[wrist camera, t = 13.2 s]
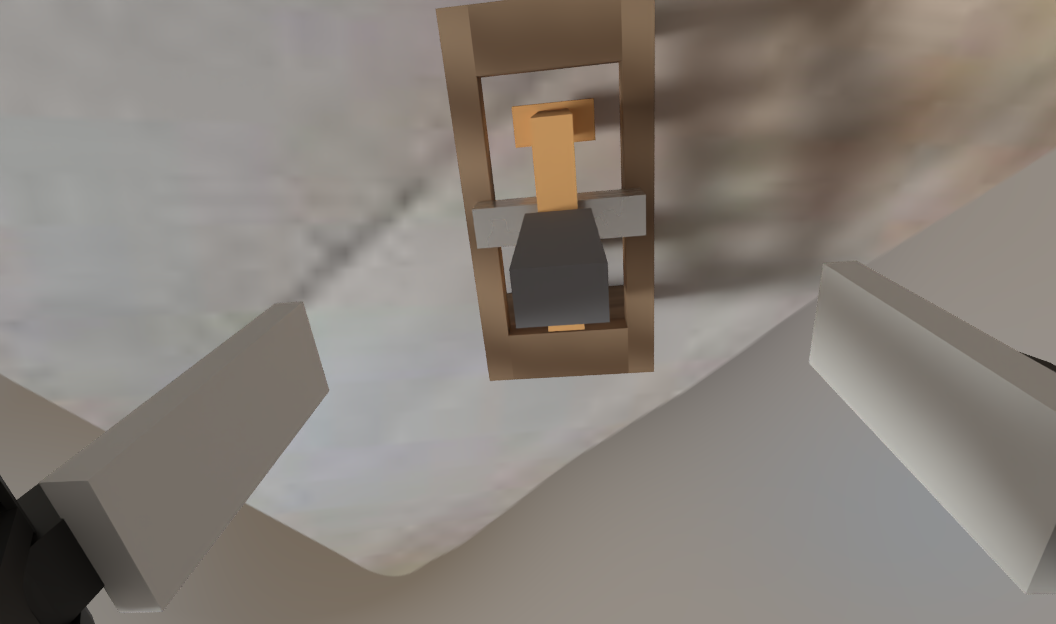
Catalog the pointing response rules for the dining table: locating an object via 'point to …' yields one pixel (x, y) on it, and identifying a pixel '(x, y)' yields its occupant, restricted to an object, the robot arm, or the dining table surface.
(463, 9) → the brown frame with crossbar
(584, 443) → the dining table surface
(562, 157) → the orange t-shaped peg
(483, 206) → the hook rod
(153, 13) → the dining table surface
